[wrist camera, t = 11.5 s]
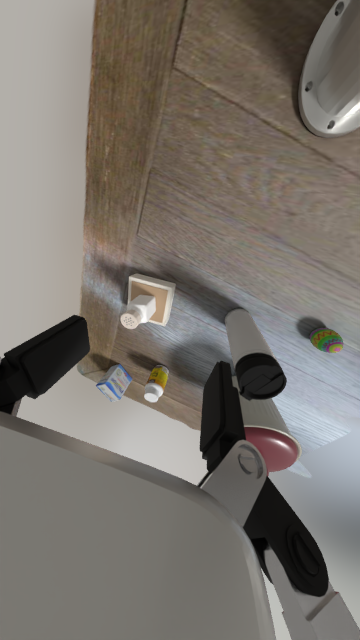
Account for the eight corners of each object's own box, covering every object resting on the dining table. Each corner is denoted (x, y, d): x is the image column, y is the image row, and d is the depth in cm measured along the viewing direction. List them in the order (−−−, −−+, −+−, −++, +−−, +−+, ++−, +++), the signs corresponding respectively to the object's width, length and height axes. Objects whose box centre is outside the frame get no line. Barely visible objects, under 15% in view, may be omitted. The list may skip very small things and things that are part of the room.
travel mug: (218, 322, 38) (226, 388, 21) (236, 303, 35) (265, 361, 18) (236, 335, 39) (260, 409, 22) (256, 317, 36) (302, 387, 18)
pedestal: (136, 273, 36) (128, 276, 32) (176, 283, 36) (172, 288, 32) (134, 309, 41) (126, 316, 37) (168, 319, 40) (164, 326, 37)
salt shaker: (156, 295, 33) (138, 312, 25) (156, 311, 35) (140, 332, 27) (139, 293, 34) (116, 309, 25) (140, 309, 36) (119, 329, 27)
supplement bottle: (162, 361, 48) (151, 388, 39) (172, 372, 50) (164, 401, 41) (150, 367, 50) (137, 394, 41) (160, 378, 52) (150, 406, 43)
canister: (245, 355, 41) (275, 444, 23) (284, 391, 45) (338, 494, 26) (200, 382, 50) (194, 465, 31) (236, 411, 53) (250, 501, 34)
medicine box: (132, 378, 55) (120, 400, 47) (123, 381, 56) (110, 402, 49) (120, 363, 52) (104, 383, 44) (111, 366, 54) (94, 386, 46)
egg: (332, 323, 34) (355, 338, 28) (328, 341, 36) (349, 358, 30) (307, 326, 35) (324, 341, 30) (305, 343, 37) (321, 359, 32)
